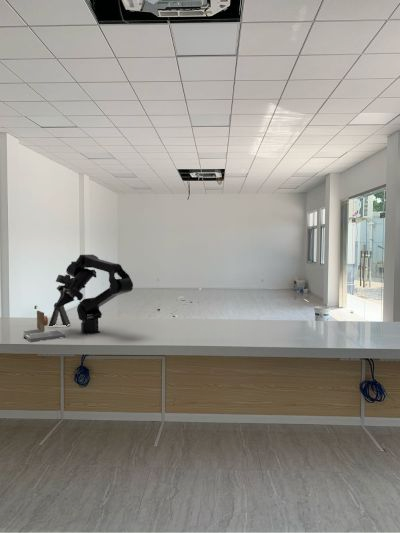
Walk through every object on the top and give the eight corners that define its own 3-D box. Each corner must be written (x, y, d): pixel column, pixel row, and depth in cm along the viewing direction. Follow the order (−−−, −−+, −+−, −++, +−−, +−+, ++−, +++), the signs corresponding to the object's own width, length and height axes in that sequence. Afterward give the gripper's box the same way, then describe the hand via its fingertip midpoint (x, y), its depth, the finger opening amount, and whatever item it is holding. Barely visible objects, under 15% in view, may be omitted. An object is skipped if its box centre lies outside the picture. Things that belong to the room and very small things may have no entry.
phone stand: (70, 325, 195) (70, 300, 195) (67, 327, 189) (66, 302, 189) (52, 325, 195) (51, 301, 194) (48, 327, 189) (47, 302, 188)
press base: (57, 333, 176) (57, 326, 176) (65, 337, 167) (65, 330, 167) (23, 337, 168) (23, 330, 168) (30, 342, 159) (30, 334, 159)
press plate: (43, 327, 171) (43, 310, 171) (49, 330, 165) (49, 312, 164) (37, 328, 169) (36, 310, 169) (42, 331, 163) (42, 313, 163)
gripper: (60, 267, 180) (35, 293, 174) (75, 268, 165) (48, 296, 159) (78, 283, 185) (54, 309, 179) (93, 286, 170) (68, 314, 164)
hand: (56, 307), depth 170 cm, fingers closed
